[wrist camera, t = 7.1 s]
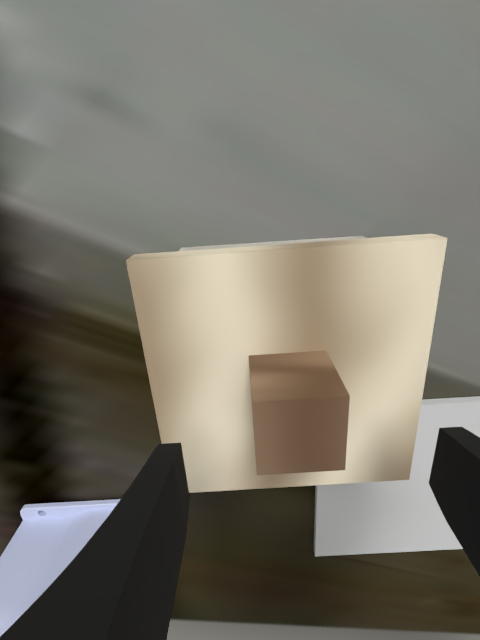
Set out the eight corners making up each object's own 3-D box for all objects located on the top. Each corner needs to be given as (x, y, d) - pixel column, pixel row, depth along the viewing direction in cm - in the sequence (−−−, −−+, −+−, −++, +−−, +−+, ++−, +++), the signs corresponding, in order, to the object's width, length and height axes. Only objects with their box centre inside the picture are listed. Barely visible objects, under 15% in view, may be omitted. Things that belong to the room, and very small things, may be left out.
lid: (175, 476, 17) (158, 559, 13) (133, 254, 13) (93, 286, 9) (399, 463, 17) (445, 543, 13) (432, 233, 13) (512, 257, 9)
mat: (313, 549, 26) (314, 556, 26) (317, 405, 21) (319, 410, 21) (488, 540, 26) (493, 547, 25) (534, 393, 21) (541, 398, 20)
